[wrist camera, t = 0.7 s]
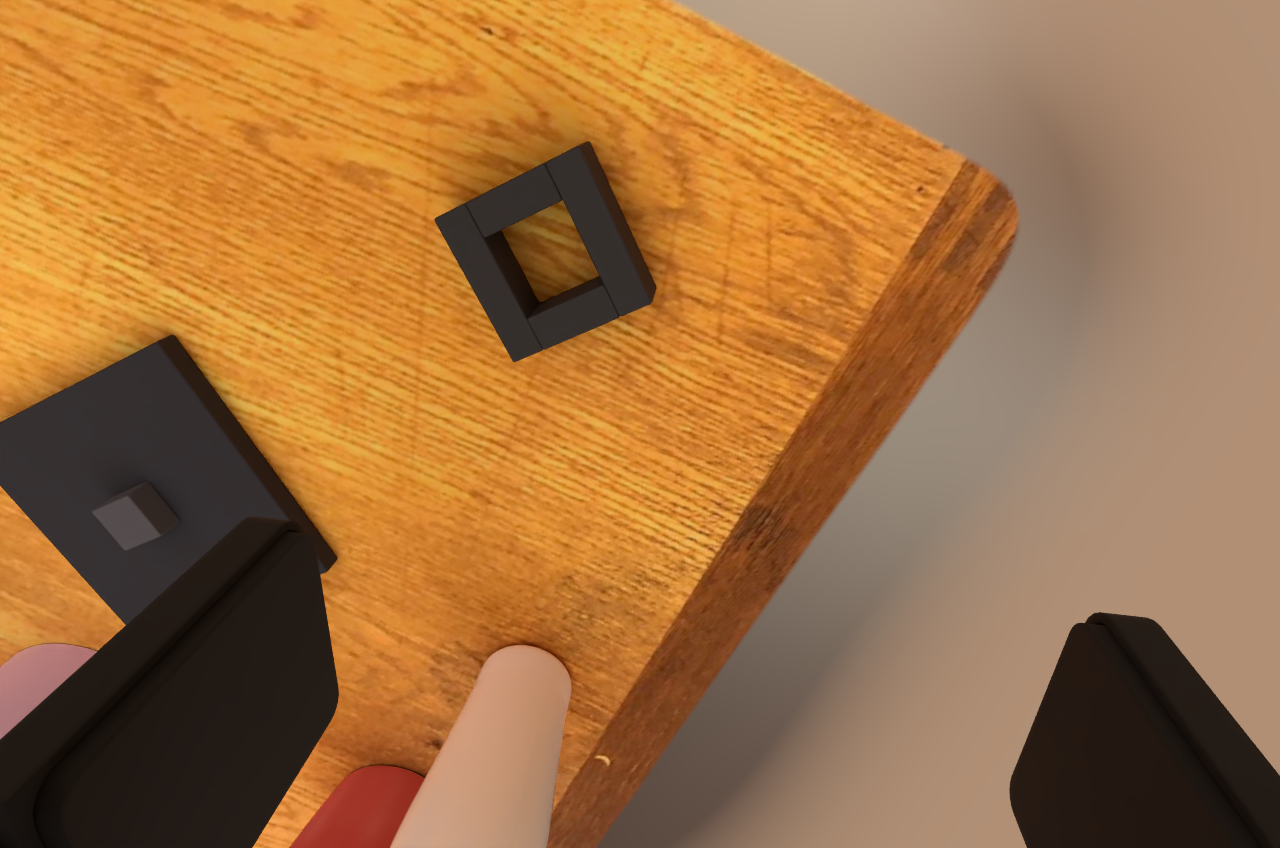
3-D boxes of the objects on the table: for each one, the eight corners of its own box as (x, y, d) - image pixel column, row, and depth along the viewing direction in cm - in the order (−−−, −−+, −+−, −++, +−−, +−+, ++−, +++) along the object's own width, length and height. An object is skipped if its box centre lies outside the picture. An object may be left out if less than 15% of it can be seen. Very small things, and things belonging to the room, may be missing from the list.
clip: (-4, 796, 53) (-102, 893, 46) (-115, 665, 48) (-241, 753, 41) (234, 775, 49) (163, 877, 42) (141, 630, 44) (44, 722, 38)
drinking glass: (581, 631, 40) (509, 910, 27) (590, 721, 43) (529, 1013, 30) (462, 627, 41) (335, 896, 28) (479, 715, 44) (371, 998, 30)
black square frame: (453, 209, 31) (432, 219, 29) (589, 140, 29) (578, 145, 27) (526, 344, 33) (513, 363, 31) (657, 288, 32) (652, 303, 29)
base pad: (-19, 432, 39) (-68, 456, 36) (174, 333, 35) (133, 352, 33) (154, 627, 44) (120, 659, 41) (338, 558, 40) (313, 589, 37)
